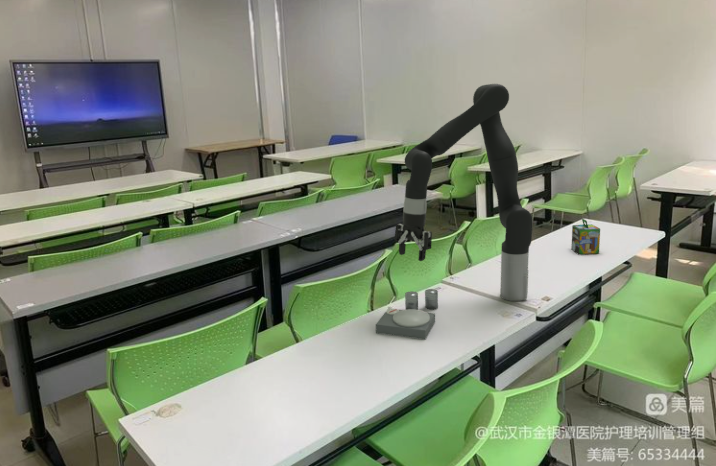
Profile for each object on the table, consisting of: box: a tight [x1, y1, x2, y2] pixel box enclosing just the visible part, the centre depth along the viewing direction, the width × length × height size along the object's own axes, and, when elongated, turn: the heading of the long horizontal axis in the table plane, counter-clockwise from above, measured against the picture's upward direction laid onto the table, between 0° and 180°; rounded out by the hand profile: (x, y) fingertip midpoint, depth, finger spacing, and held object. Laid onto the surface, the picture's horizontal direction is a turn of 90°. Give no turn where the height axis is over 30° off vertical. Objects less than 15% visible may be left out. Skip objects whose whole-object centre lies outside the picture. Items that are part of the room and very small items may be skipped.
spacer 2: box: [424, 288, 439, 311], centre depth 184 cm, size 4×4×6 cm
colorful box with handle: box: [570, 218, 601, 255], centre depth 235 cm, size 9×9×15 cm
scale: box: [375, 307, 436, 340], centre depth 170 cm, size 16×13×4 cm
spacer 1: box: [404, 290, 419, 310], centre depth 183 cm, size 4×4×6 cm
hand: (411, 257), depth 179 cm, fingers open, 8 cm apart
